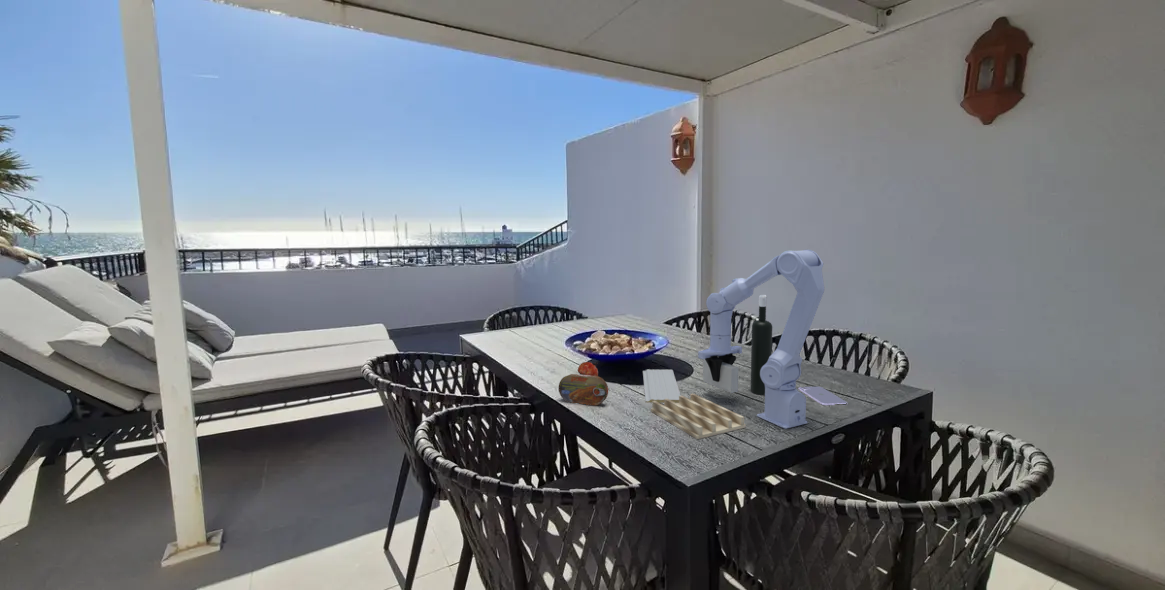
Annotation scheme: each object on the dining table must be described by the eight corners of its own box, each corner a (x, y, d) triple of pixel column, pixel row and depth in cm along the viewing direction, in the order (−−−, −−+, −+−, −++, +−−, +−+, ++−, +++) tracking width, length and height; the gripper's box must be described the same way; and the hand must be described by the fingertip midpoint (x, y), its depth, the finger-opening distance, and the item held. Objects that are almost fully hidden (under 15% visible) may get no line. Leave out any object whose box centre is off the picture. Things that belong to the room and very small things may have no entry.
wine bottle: (757, 395, 135) (760, 296, 132) (746, 389, 141) (748, 294, 137) (774, 393, 137) (777, 295, 133) (762, 388, 142) (765, 293, 139)
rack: (745, 427, 113) (745, 416, 113) (697, 439, 107) (697, 428, 106) (694, 402, 131) (694, 393, 131) (650, 411, 125) (650, 401, 125)
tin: (558, 401, 134) (557, 374, 133) (562, 398, 137) (562, 371, 136) (606, 407, 129) (605, 379, 128) (609, 403, 132) (609, 375, 131)
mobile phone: (822, 403, 127) (796, 386, 142) (822, 406, 127) (796, 389, 142) (849, 402, 127) (821, 385, 142) (849, 405, 127) (820, 388, 142)
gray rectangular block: (738, 391, 127) (738, 367, 126) (731, 392, 126) (731, 368, 125) (709, 380, 138) (709, 357, 137) (703, 381, 137) (703, 358, 136)
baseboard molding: (640, 404, 132) (682, 405, 131) (640, 394, 132) (682, 395, 131) (638, 373, 163) (672, 373, 162) (638, 365, 163) (672, 365, 161)
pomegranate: (584, 393, 148) (607, 373, 149) (569, 376, 147) (593, 356, 148) (580, 388, 155) (602, 369, 156) (567, 372, 154) (589, 353, 155)
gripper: (730, 329, 137) (729, 373, 138) (691, 334, 131) (691, 380, 132) (747, 333, 130) (746, 379, 132) (707, 338, 124) (707, 386, 126)
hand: (720, 380), depth 131 cm, fingers closed on gray rectangular block, 2 cm apart
